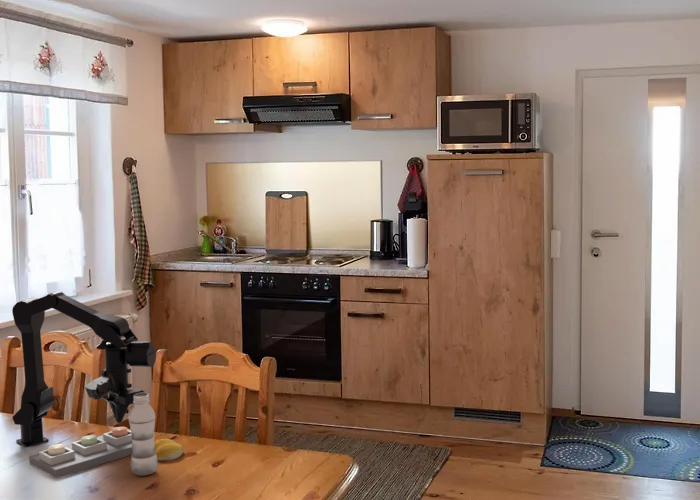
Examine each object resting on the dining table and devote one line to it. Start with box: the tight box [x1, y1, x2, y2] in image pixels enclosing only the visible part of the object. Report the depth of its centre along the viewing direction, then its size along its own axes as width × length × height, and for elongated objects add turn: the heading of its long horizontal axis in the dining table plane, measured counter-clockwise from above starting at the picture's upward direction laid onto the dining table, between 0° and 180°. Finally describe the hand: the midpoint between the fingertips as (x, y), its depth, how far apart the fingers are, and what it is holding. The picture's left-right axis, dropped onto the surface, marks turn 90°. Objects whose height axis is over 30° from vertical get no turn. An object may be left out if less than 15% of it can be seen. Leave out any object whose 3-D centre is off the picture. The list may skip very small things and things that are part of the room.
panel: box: [28, 428, 132, 478], centre depth 217 cm, size 14×26×4 cm, turn 136°
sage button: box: [80, 434, 98, 447], centre depth 217 cm, size 4×4×2 cm
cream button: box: [47, 443, 66, 456], centre depth 210 cm, size 4×4×2 cm
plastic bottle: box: [128, 392, 159, 477], centre depth 204 cm, size 6×7×20 cm
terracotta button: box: [111, 426, 129, 438], centre depth 223 cm, size 4×4×2 cm
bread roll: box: [154, 438, 184, 461], centre depth 218 cm, size 8×9×4 cm
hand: (119, 422), depth 223 cm, fingers closed
